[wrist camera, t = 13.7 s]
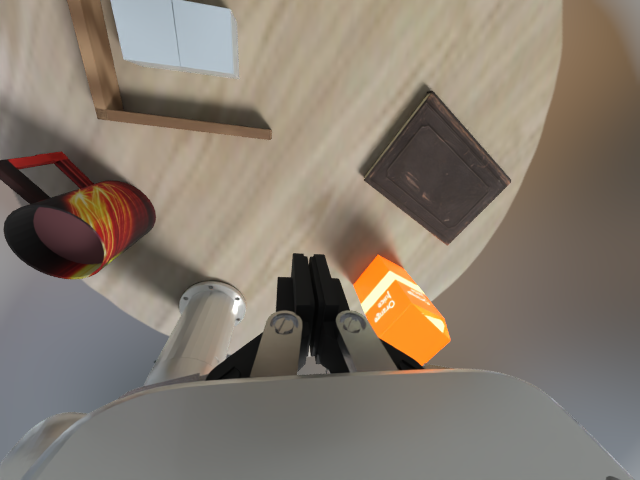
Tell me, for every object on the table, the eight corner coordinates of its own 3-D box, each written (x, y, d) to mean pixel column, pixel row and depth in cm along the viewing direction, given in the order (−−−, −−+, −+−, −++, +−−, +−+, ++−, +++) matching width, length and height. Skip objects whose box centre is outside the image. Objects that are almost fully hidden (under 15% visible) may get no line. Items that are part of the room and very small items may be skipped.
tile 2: (192, 73, 31) (180, 66, 28) (142, 66, 30) (123, 59, 27) (185, 13, 28) (170, -2, 25) (130, 4, 28) (107, -13, 24)
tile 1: (239, 79, 32) (233, 73, 29) (192, 73, 31) (180, 66, 28) (237, 22, 29) (230, 9, 26) (186, 14, 29) (171, -2, 25)
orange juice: (352, 285, 50) (388, 372, 33) (377, 253, 48) (432, 331, 30) (379, 297, 53) (426, 385, 35) (404, 268, 50) (469, 348, 33)
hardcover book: (440, 240, 49) (447, 245, 47) (360, 177, 41) (364, 180, 39) (503, 177, 44) (513, 180, 42) (426, 91, 36) (434, 89, 34)
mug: (65, 148, 33) (-41, 160, 22) (165, 203, 38) (119, 234, 27) (46, 202, 36) (-56, 236, 25) (142, 247, 41) (91, 290, 30)
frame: (271, 138, 36) (270, 139, 33) (115, 119, 32) (97, 119, 29) (276, -48, 27) (275, -71, 24) (65, -103, 23) (31, -137, 20)
